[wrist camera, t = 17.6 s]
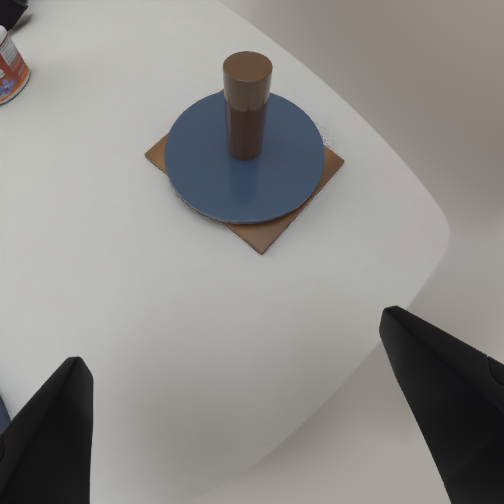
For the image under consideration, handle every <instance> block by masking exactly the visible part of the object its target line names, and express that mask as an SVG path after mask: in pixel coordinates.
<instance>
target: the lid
mask: <svg viewBox="0 0 504 504" xmlns="http://www.w3.org/2000/svg"><path fill="white" fill-rule="evenodd" d="M272 69H273V67H272V63H271V61H270V60H269V59H268V58H267V57H266V56H264V55H262V54H260V53H256V52H250V51H244V52H238V53H235V54H232V55H231V56H229V57H228V58H227V59H226V60H225V61H224V63H223V83H224V91H223V92H219V93H215V94H213V95H210V96H207V97H205V98H203V99H201V100H199V101H198V102H196V103H195V104H193V105H192V106H190V107H189V108H188V109H187V110H185V111H184V112H183V113H182V114H181V115H180V116H179V118H178V119H177V120H176V122H175V123H174V124H173V126H172V128H171V130H170V132H169V134H168V137H167V139H166V144H165V148H164V162H165V168H166V172H167V175H168V178H169V180H170V182H171V184H172V186H173V188H174V189H175V191H176V192H177V194H178V195H179V196H180V197H181V198H182V199H183V201H184V202H186V203H187V204H188V205H189V206H190V207H192V208H193V209H195V210H196V211H198V212H199V213H201V214H203V215H205V216H208V217H210V218H212V219H216V220H219V221H222V222H227V223H233V224H257V223H262V222H268V221H271V220H274V219H277V218H280V217H282V216H284V215H286V214H288V213H290V212H292V211H293V210H295V209H296V208H298V207H299V206H300V205H301V204H303V203H304V202H305V201H306V200H307V199H308V198H309V196H310V195H311V194H312V193H313V191H314V190H315V188H316V186H317V185H318V182H319V180H320V178H321V176H322V172H323V168H324V161H325V153H324V146H323V141H322V138H321V136H320V133H319V131H318V129H317V127H316V126H315V124H314V123H313V121H312V120H311V119H310V117H309V116H308V115H307V114H306V113H305V112H304V111H303V110H301V109H300V108H299V107H298V106H296V105H295V104H293V103H292V102H290V101H289V100H287V99H285V98H283V97H280V96H278V95H275V94H272V93H270V85H271V77H272Z"/></svg>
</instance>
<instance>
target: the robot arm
mask: <svg viewBox="0 0 504 504" xmlns="http://www.w3.org/2000/svg"><path fill="white" fill-rule="evenodd" d="M379 333H380V337H381V339H382V342H383V345H384V347H385V350H386V353H387V355H388V358H389V361H390V363H391V366H392V369H393V371H394V374H395V377H396V379H397V381H398V383H399V385H400V387H401V389H402V391H403V393H404V395H405V398H406V400H407V402H408V404H409V406H410V408H411V410H412V412H413V414H414V417H415V419H416V421H417V423H418V425H419V427H420V430H421V432H422V434H423V436H424V439H425V441H426V443H427V445H428V447H429V450H430V452H431V454H432V457H433V459H434V462H435V464H436V466H437V468H438V471H439V473H440V476H441V478H442V481H443V482H444V486H445V488H446V491H447V493H448V496H449V499H450V501H451V504H504V364H502V363H500V362H498V361H497V360H495V359H493V358H491V357H490V356H488V357H487V355H486V354H484V353H482V352H480V351H479V350H477V349H475V348H473V347H472V346H470V345H468V344H466V343H464V342H463V341H460V340H459V339H457V338H455V337H453V336H452V335H450V334H448V333H446V332H445V331H443V330H441V329H439V328H437V327H435V326H434V325H432V324H430V323H428V322H426V321H424V320H423V319H421V318H419V317H417V316H415V315H413V314H411V313H410V312H408V311H406V310H404V309H403V308H401V307H399V306H391V307H387V308H385V309H384V310H383V313H382V317H381V322H380V327H379ZM92 434H93V376H92V374H91V372H90V370H89V369H88V367H87V366H86V364H85V362H84V361H83V359H82V358H81V357H68V358H67V359H66V360H65V361H64V362H63V363H62V364H61V365H60V367H59V368H58V369H57V370H56V371H55V372H54V373H53V374H52V375H51V376H50V378H49V379H48V380H47V381H46V382H45V383H44V384H43V385H42V386H41V388H40V389H39V390H38V391H37V392H36V393H35V394H34V396H33V397H32V398H31V399H30V400H29V401H28V402H27V404H26V405H25V406H24V407H23V408H22V409H21V411H20V412H19V413H18V414H17V415H16V416H15V418H14V419H13V420H12V421H11V422H10V424H9V425H8V426H7V427H6V428H5V430H4V431H3V433H1V434H0V504H90V464H91V447H92Z"/></svg>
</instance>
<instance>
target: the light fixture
mask: <svg viewBox="0 0 504 504" xmlns="http://www.w3.org/2000/svg"><path fill="white" fill-rule="evenodd" d="M25 3H26V0H0V26H3V27H4V28H5V29H6V31H9V30H10V29H12V28H13V26H14V25H15V24H16V22H17V21H18V19H19V18H20V17H21V15H22V14H23V13H24V11H25V10H26V9H27V8H28V6H27V5H26V4H25Z"/></svg>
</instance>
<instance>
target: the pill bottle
mask: <svg viewBox="0 0 504 504" xmlns="http://www.w3.org/2000/svg"><path fill="white" fill-rule="evenodd" d="M29 74H30V71H29V68H28V66H27V65H26V63H25V62H24V60H23V58H22V57H21V55H20V53H19V52H18V50H17V48H16V46H15V45H14V43H13V41H12V40H11V38H10V36H9V34H8V32H7V31H6V29H5V28H4V27H3V26H0V104H2V103H5V102H7V101H8V100H10V99H11V98H13V97H14V96H15V95H16V94H17V93H18V92H19V91H20V90H21V89H22V88H23V87H24V86H25V84H26V82H27V81H28V78H29Z"/></svg>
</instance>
